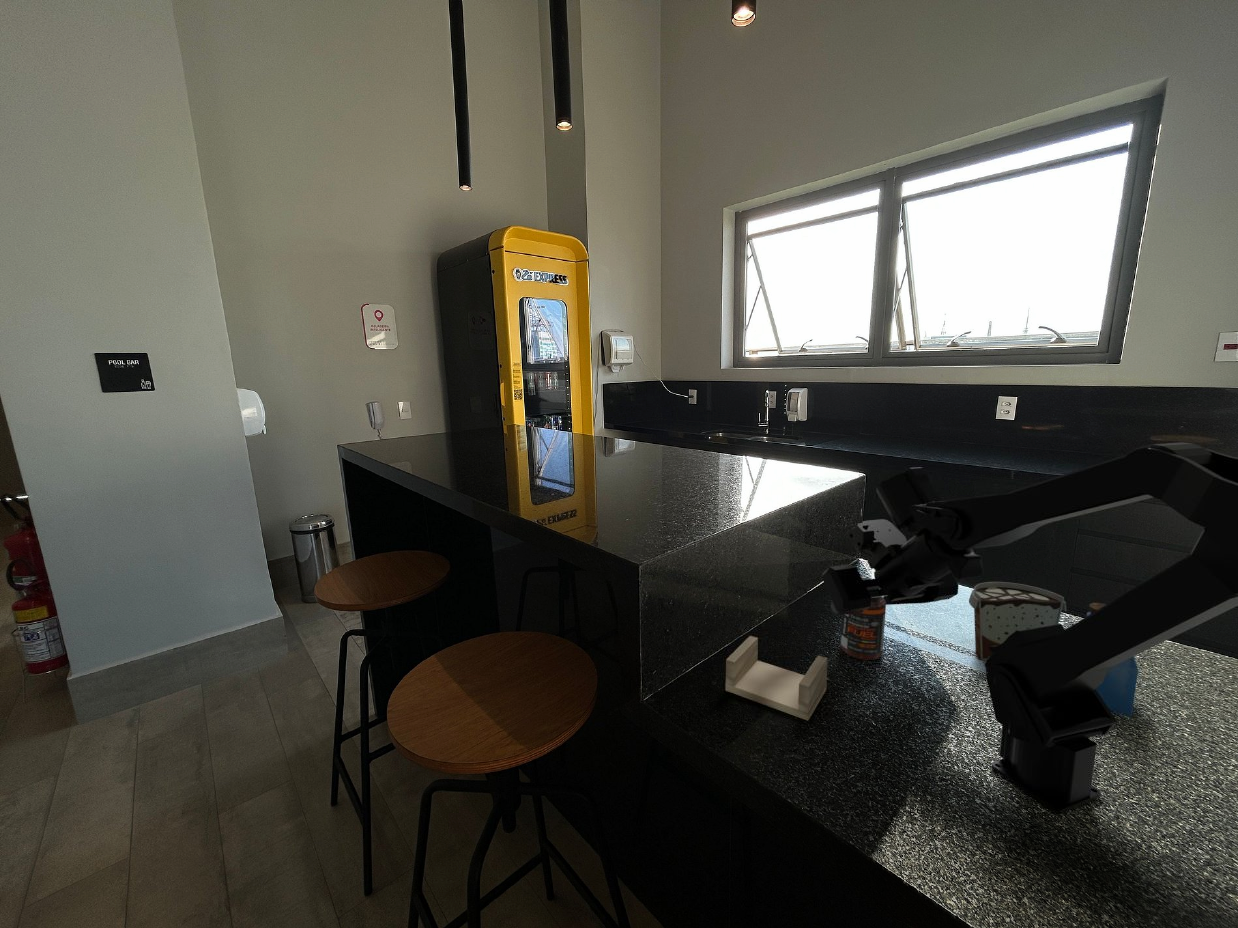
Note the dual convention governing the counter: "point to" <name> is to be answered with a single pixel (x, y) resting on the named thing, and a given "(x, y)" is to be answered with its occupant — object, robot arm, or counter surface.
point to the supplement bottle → (864, 631)
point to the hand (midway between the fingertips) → (859, 605)
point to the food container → (1010, 612)
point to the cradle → (775, 681)
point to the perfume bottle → (1118, 681)
